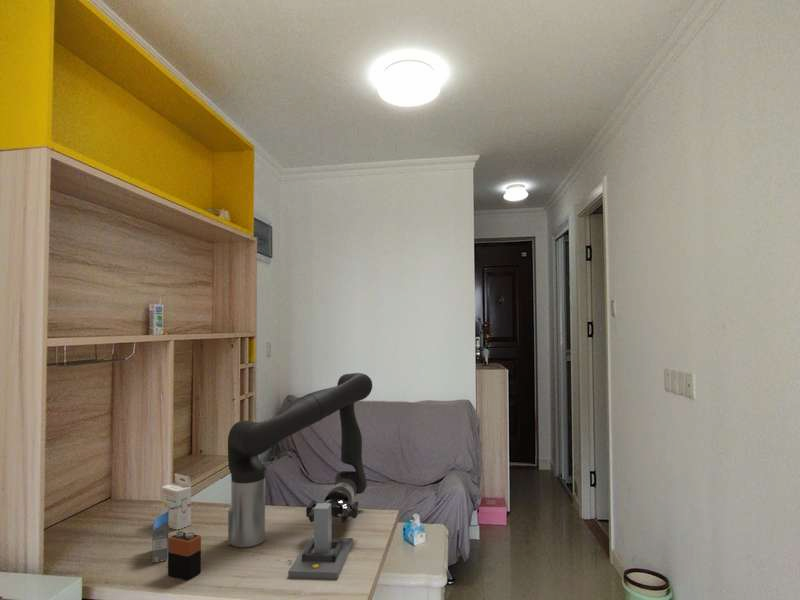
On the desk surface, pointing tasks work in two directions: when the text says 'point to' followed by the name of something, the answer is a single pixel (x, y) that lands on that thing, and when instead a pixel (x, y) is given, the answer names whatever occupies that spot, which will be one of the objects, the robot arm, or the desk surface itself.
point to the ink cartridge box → (177, 502)
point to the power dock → (321, 560)
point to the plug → (322, 528)
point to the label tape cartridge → (160, 537)
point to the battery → (184, 555)
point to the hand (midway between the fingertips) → (327, 519)
